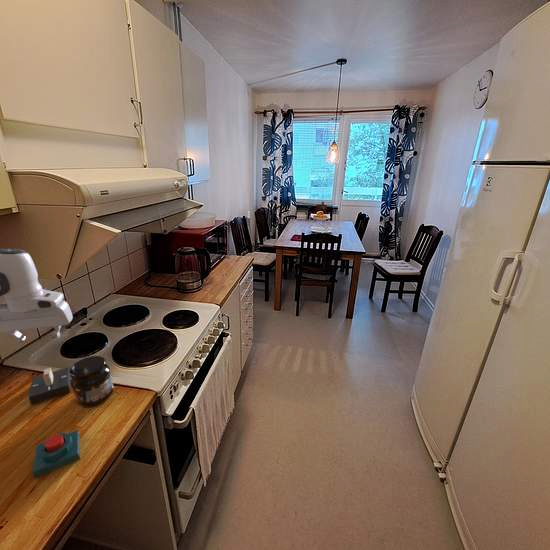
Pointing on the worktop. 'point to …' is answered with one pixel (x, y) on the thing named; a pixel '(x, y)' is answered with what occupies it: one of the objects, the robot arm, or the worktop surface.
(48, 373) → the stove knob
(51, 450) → the timer button
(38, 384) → the stove panel
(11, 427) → the worktop surface
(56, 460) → the teal square base
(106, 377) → the supplement container
